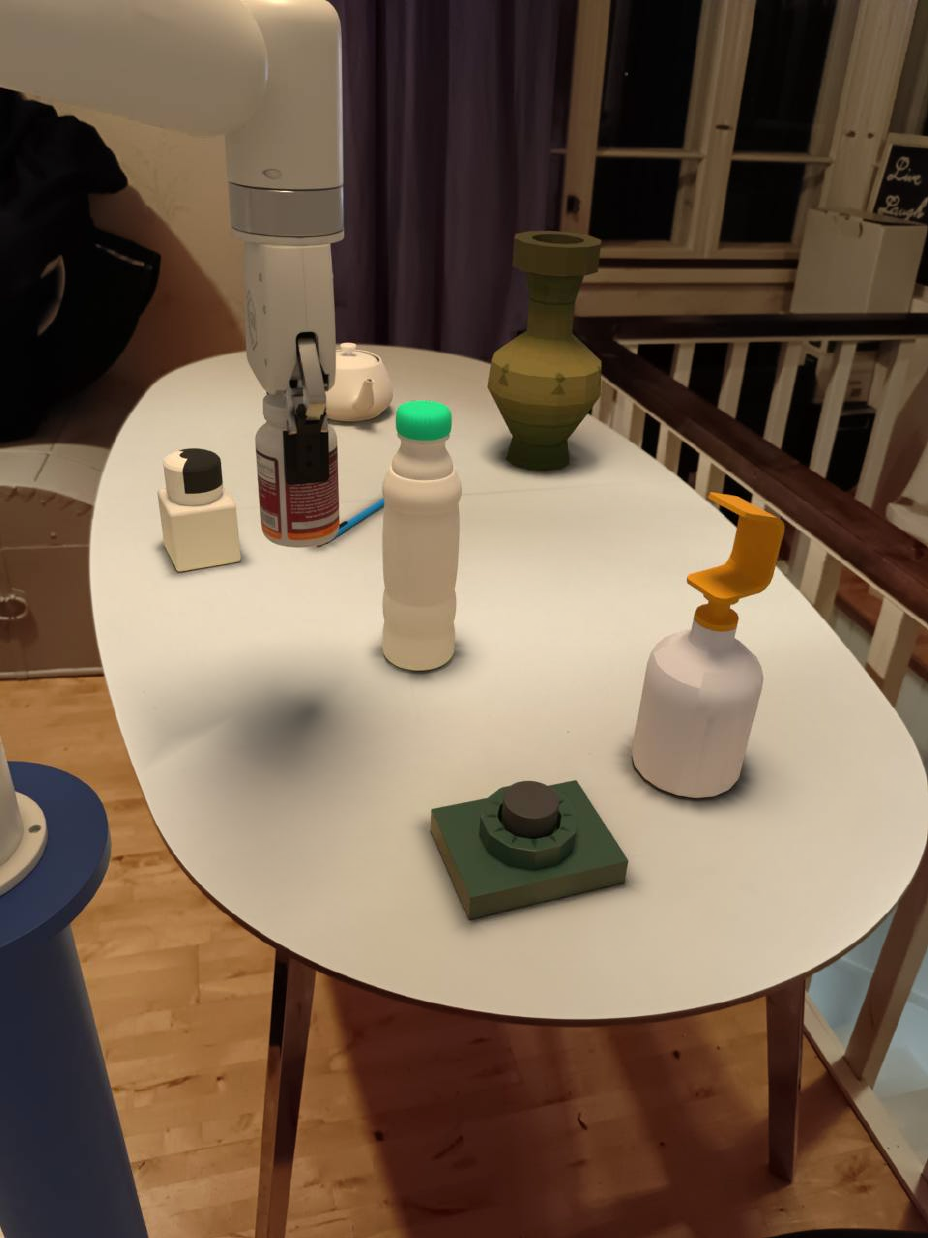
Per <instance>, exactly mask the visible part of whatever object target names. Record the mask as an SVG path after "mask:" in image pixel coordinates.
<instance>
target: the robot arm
mask: <svg viewBox="0 0 928 1238" xmlns="http://www.w3.org/2000/svg"><path fill="white" fill-rule="evenodd" d="M342 38H343V37H342V24H341V20H340V17H339V14H338V11H337V10H336V9H335V7H334V6H333V5H332V4H331V3H330V2H329V1H328V0H0V88H2V89H7V90H12V91H16V92H20V93H24V94H28V95H33V96H37V97H40V98H44V99H49V100H53V101H56V102H61V103H64V104H68V105H72V106H77V107H79V108H84V109H88V110H91V111H95V112H99V113H103V114H108V115H111V116H115V117H119V118H122V119H127V120H130V121H134V122H137V123H141V124H145V125H148V126H152V127H156V128H159V129H164V130H168V131H171V132H175V133H177V134H182V135H185V136H188V137H192V138H199V139H211V138H212V139H213V138H219V137H222V136H224V147H225V160H226V172H227V173H226V174H227V175H226V176H227V185H228V199H229V202H228V203H229V213H230V230H231V236H232V237H233V238H235V239H237V240H241V241H243V292H244V293H243V294H244V295H243V296H244V297H243V298H244V328H245V332H244V333H245V355H246V359H247V362H248V365H249V367H250V369H251V371H252V372H253V374H254V376H255V378H256V379H257V381H258V383H259V384H260V386H261V387H262V389H263V390H264V391H265V396H266V395H267V394H271V395H276V393H277V391H281V390H283V398H284V407H285V415H286V424H287V431H283V449H284V469H285V480H286V482H287V483H288V484H289V485H298V484H308V483H319V482H326V481H328V479H329V436H328V424H329V422H328V418H327V412H326V394H325V391H329V390H330V389H331V388H332V387H333V386H334V384H335V375H336V350H337V341H336V340H337V339H336V311H335V293H334V273H333V263H332V261H333V260H332V250H331V249H332V247H331V244H333V243H338V242H340V241H342V240H344V238H345V207H344V206H345V198H344V196H345V195H344V188H345V187H344V114H343V113H344V106H343V103H344V101H343V100H344V99H343V39H342ZM299 397H303V404H298V407H297V409H296V414H295V405H294V398H299ZM266 422H267V421H266V420H265V423H266ZM7 761H8V760H7V756H6V752H5V748H4V745H3V741H2V737H1V736H0V896H1V895H2V894H4V893H6V892H7V891H9V890H11V889H12V888H13V887H14V886H16V885H17V884H18V883H19V882H21V881H22V880H23V879H24V878H25V877H26V876H27V875H28V874H29V873H30V872H31V871H32V870H33V869H34V867H35V866H36V865H37V863H38V861H39V860H40V858H41V857H42V855H43V853H44V850H45V848H46V845H47V839H48V829H47V824H46V819H45V817H44V814H43V811H42V810H41V808H40V807H39V806H38V805H37V803H36V802H34V801H33V800H32V799H30V798H29V797H27V796H26V795H23V794H21V793H18V792H16V791H15V790H14V786H13V782H12V778H11V775H10V771H9V767H8V763H7Z"/></svg>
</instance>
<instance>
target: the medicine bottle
mask: <svg viewBox="0 0 928 1238" xmlns="http://www.w3.org/2000/svg"><path fill="white" fill-rule="evenodd" d="M162 466H163V473H164V482H165V488H159V489H158V490H157V492H156V494H157V501H158V507H159V515H160V523H161V530H162V539H163V540H162V541H163V545H164V547H165V550H166V551H167V554H168V555H169V557H170V559H171V562H172V563H173V565H174V567H175V569H176V571H177V572H178V573H179V572H185V571H190V570H198V569H203V568H209V567H215V566H221V565H225V564H231V563H237V562H240V561H241V548H240V537H239V535H240V534H239V526H238V523H239V522H238V513H237V505H236V503H235V502H234V499H232V497H231V496H230V494H229V492H228V491H227V490H226V488H225V487H224V480H223V467H222V459H221V457H220V456H219V454H217V453H216V452H214V451H212V450H209V449H205V448H198V447H188V448H181V449H179V450H176V451H174V452H171V453H169V454H168V455H167V456H166V457H165V458H164V459H163V462H162Z"/></svg>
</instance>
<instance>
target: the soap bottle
mask: <svg viewBox="0 0 928 1238" xmlns="http://www.w3.org/2000/svg"><path fill="white" fill-rule="evenodd" d="M707 498H708V499H709V500H711V501H713V502H714V503H716V504H718V505H720V506H721V507H724V508H725V509H727V510H729V511H731V512H732V513H735V514H736V515H738V519H737V525H736V530H735V535H734V538H733V544H732V549H731V552H730V555H729V557H728V559H727V560H726V561H725V562H724V563H723V564H720V565H718V566H714V567H710V568H707V569H703V570H699V571H696V572H692V573H689V574H688V575H687V577H686V584H687V585H689V586H690V587H691V588H693V589H695V590H696V591H698V592H699V593H701V595H702V596H703V598H704V599H705V600H707V603H703V604H701V605H699V606H697V607H696V609H695V610H694V614H693V620H692V624H691V628H690V629H689V628H688V629H684V630H682V631H677V632H675V633H671V634H670V635H667V636H665V637H663V638H662V639H661V640H660V641H659V642H657V643H655V645H654V647H653V648H652V650H651V651H650V653H649V656H648V659H647V662H646V666H645V667H646V668H645V672H644V677H643V684H642V689H641V695H640V701H639V707H638V712H637V717H636V718H637V719H636V724H635V730H634V734H633V740H632V745H631V752H630V753H631V756H632V760H633V763H634V767H635V768H636V769H637V771H638V772H639V773H640V775H641V776H642V777H643V779H644V780H646V781H648V782H649V783H651V784H652V785H653V786H655V787H656V788H658V789H660V790H662V791H664V792H667V793H671V794H673V795H676V796H681V797H687V798H693V799H701V798H710V797H711V798H712V797H716V796H719V795H721V794H723V793H725V792H727V791H729V790H730V789H731V788H732V787H733V786H734V785H735V784H736V782H737V781H738V780H739V779H740V775H741V771H742V768H743V763H744V759H745V757H746V756H745V755H746V751H747V748H748V745H749V740H750V737H751V732H752V729H753V725H754V721H755V717H756V714H757V710H758V705H759V701H760V697H761V694H762V690H763V684H764V673H763V669H762V665H761V663H760V660H759V659H758V657H757V656H756V655H755V654H754V653H753V652H752V651H751V650H750V649H749V648H748V647H747V646H746V645H745V644H744V643H743V642H742V641H740V640H739V639H737V638H735V637H736V633H737V628H738V624H739V618H740V617H739V614H738V613H737V612H736V611H735V610H734V609H733V608H731V606H733V605H736V604H737V603H739V602H740V600H741V599H745V598H748V597H750V596H751V597H752V596H753V595H757V594H760V593H762V592H763V591H765V590H766V589H767V588H768V587H769V585H771V582H772V580H773V578H774V574H775V571H776V566H777V562H778V559H779V558H778V557H779V554H780V550H781V546H782V542H783V538H784V534H785V523H784V521H783V520H782V519H781V518H779V517H777V516H775V515H773V514H771V513H770V512H768V511H766V510H764V509H762V508H760V507H758V506H756V505H754V504H753V503H751V502H749V501H748V500H745V499H743V498H741V497H739V496H736V495H731V494H726V493H725V494H724V493H719V492H714V491H713V492H712V491H711V492H709V494H708V496H707Z"/></svg>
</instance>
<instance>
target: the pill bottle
mask: <svg viewBox="0 0 928 1238" xmlns="http://www.w3.org/2000/svg"><path fill="white" fill-rule="evenodd" d="M298 404H303V397H299V398H294V405H295V414H296V409H297V407H298ZM326 412H327V405H326ZM262 416H263V418H264V420H265V423H263V424H262V425H260V427H259V428H258V430H256V434H255V436H254V440H255V441H254V443H255V444H254V445H255V458H256V472H257V473H256V474H257V485H258V486H257V487H258V498H259V499H258V500H259V501H258V502H259V517H260V526H261V531H262V534H263V536H264V537H265V538H266V539H267V540H268V541H269V542H271V543H272V544H275V545H277V546H280V547H281V546H282V547H286V548H298V549H300V548H313V547H319V546H321V545H324V543H326V544H328V543H329V542H331V541H332V540H334V539H335V538H334V537H335V536H336V535H337V533H338V531H339V525H340V520H341V519H340V489H339V487H340V485H339V448H338V436H337V432H336V430H335V429H334V428H333V426H332V425H330V424H329V423H328V436H329V479H328V481H326V482H319V483H308V484H298V485H289V484H288V483H287V482H286V480H285V469H284V449H283V431H287V424H286V415H285V407H284V398H283V390H281V391H277V393H276V395H271V394H267V395H266V394H265V395H264V396H263V398H262ZM266 421H267V422H266ZM333 538H334V539H333ZM330 540H331V541H330ZM327 542H328V543H327ZM318 545H319V546H318Z"/></svg>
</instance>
